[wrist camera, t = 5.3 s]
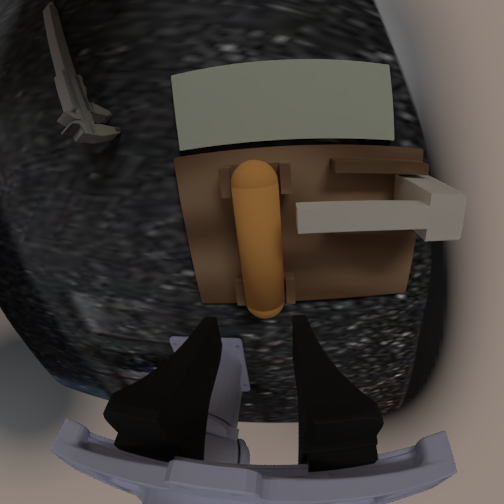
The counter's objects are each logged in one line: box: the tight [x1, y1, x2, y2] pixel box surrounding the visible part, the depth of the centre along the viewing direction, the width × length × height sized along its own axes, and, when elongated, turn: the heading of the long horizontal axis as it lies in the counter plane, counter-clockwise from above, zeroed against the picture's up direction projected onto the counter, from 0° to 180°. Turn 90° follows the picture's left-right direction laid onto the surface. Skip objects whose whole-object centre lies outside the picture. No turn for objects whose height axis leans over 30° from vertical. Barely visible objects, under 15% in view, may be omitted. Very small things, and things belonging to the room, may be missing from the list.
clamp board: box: [174, 144, 429, 306], centre depth 20 cm, size 13×19×3 cm
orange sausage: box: [231, 160, 285, 319], centre depth 19 cm, size 12×3×3 cm, turn 5°
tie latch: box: [296, 174, 467, 241], centre depth 16 cm, size 3×11×6 cm, turn 95°
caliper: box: [43, 1, 121, 144], centre depth 13 cm, size 20×1×6 cm, turn 29°
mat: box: [171, 59, 394, 151], centre depth 17 cm, size 6×16×1 cm, turn 95°
